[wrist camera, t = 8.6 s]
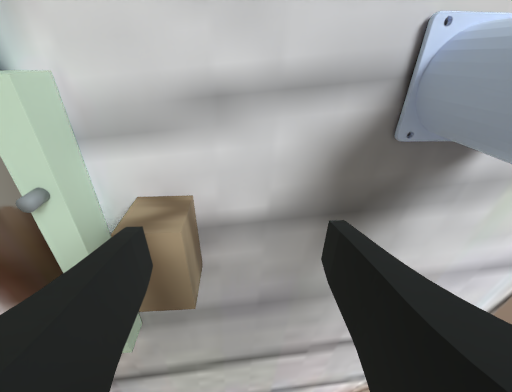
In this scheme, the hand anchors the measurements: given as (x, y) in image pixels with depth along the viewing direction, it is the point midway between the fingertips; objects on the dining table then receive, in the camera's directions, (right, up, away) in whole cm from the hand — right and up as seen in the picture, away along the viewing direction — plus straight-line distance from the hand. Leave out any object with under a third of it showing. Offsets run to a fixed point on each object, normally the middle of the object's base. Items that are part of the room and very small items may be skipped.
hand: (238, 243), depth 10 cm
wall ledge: (-14, -2, +12) cm, 18 cm away
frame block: (-7, -1, +13) cm, 14 cm away
